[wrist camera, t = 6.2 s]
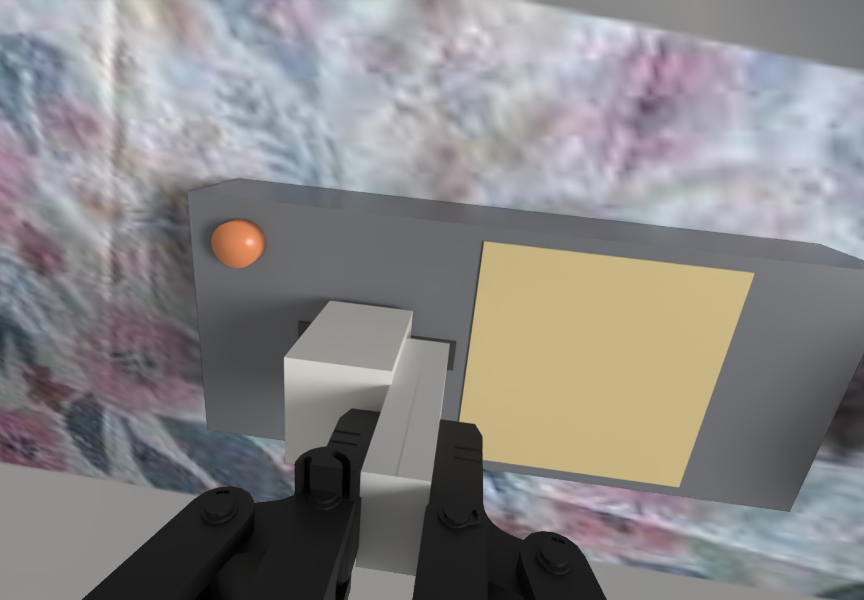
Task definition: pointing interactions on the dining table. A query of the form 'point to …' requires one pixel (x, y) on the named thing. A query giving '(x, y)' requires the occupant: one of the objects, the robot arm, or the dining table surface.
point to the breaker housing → (546, 331)
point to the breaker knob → (340, 370)
